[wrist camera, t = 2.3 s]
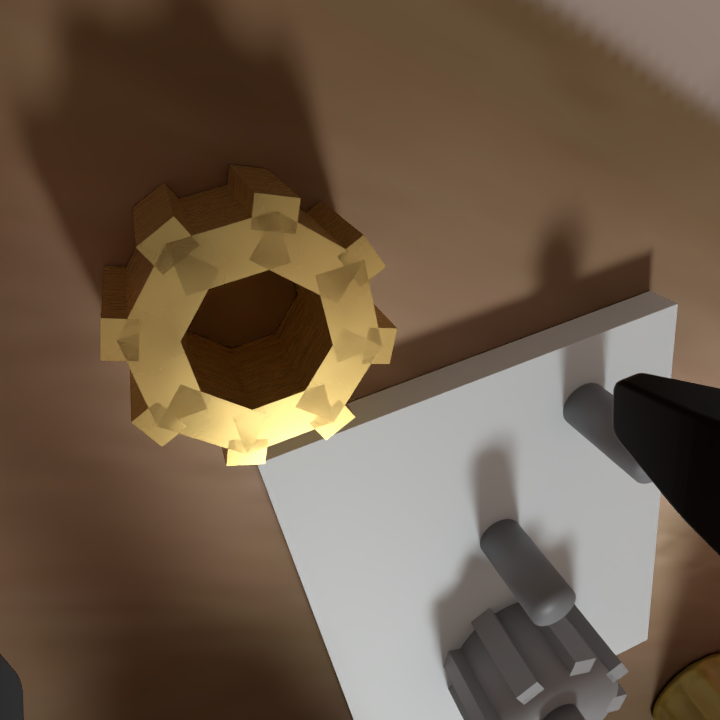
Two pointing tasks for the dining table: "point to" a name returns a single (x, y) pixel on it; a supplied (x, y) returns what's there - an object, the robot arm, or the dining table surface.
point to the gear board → (484, 528)
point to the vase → (692, 693)
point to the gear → (257, 358)
